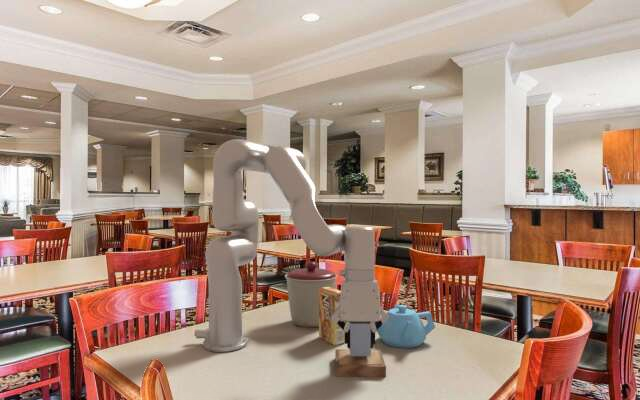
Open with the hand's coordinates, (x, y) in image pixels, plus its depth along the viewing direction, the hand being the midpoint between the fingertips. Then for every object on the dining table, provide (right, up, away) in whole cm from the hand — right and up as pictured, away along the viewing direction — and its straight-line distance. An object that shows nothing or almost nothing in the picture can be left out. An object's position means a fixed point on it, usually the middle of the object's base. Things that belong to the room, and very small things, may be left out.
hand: (359, 345), depth 106 cm
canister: (-13, -5, +37) cm, 40 cm away
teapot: (+14, -6, +20) cm, 25 cm away
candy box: (-7, -6, +20) cm, 22 cm away
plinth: (0, -6, 0) cm, 6 cm away
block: (0, -2, 0) cm, 2 cm away
